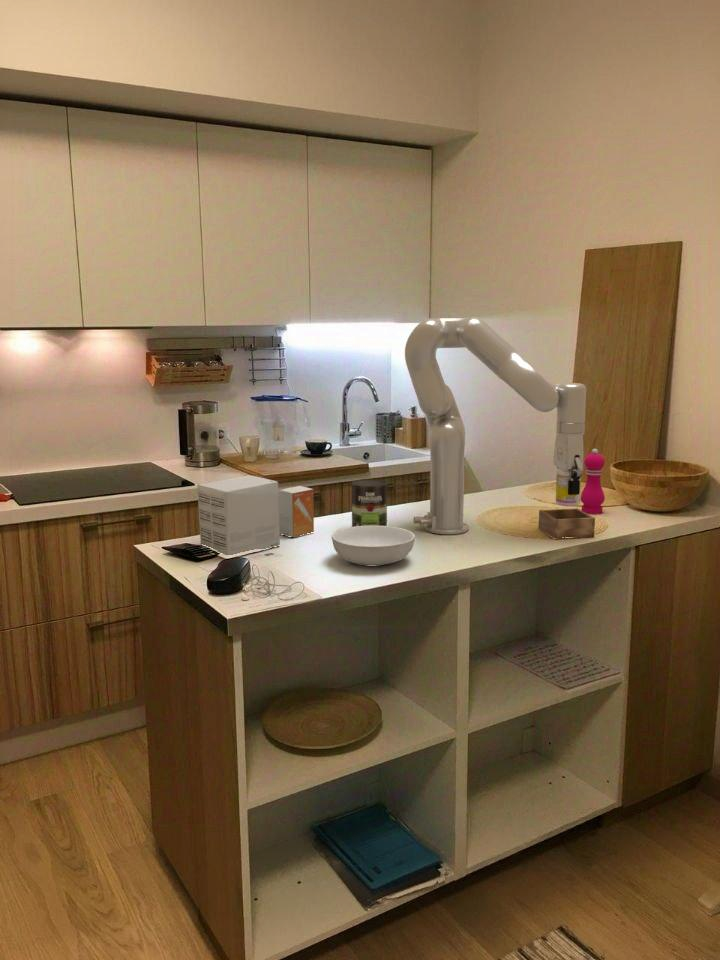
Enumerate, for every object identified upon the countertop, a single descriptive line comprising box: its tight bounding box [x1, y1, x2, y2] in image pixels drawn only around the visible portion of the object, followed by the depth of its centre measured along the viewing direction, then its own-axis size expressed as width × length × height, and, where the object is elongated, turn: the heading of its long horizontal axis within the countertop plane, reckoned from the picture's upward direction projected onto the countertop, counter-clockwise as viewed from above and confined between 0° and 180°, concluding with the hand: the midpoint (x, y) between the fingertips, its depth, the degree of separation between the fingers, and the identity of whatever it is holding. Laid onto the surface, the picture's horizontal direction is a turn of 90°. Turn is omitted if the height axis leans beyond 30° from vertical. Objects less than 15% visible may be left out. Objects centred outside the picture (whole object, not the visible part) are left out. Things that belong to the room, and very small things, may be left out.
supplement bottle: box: [555, 468, 582, 507], centre depth 224 cm, size 7×7×13 cm
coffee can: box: [350, 478, 388, 527], centre depth 230 cm, size 10×10×14 cm
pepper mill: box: [580, 448, 606, 515], centre depth 249 cm, size 7×7×20 cm
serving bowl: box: [331, 525, 416, 566], centre depth 202 cm, size 21×21×7 cm
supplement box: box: [196, 474, 281, 555], centre depth 213 cm, size 17×13×18 cm
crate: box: [538, 507, 596, 539], centre depth 227 cm, size 12×12×6 cm
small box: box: [278, 485, 315, 538], centre depth 227 cm, size 8×6×13 cm
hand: (568, 491), depth 225 cm, fingers closed on supplement bottle, 6 cm apart
